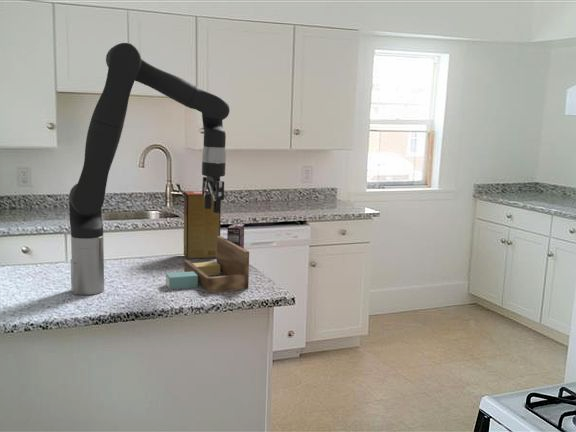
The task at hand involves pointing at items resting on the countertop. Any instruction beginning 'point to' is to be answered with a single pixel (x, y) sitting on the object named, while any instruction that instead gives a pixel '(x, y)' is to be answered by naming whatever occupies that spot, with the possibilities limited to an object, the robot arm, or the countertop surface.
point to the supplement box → (236, 234)
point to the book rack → (225, 268)
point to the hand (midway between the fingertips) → (212, 210)
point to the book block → (181, 280)
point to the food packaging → (200, 227)
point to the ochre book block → (208, 267)
